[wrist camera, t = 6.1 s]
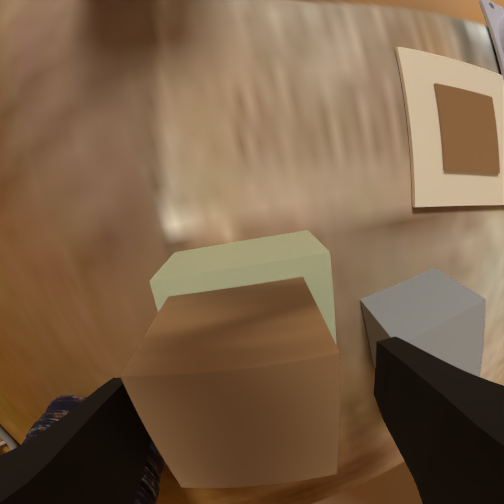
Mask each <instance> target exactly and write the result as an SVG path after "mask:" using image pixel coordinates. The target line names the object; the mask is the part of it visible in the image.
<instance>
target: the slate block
mask: <svg viewBox="0 0 504 504" xmlns="http://www.w3.org/2000/svg"><path fill="white" fill-rule="evenodd" d="M360 302H361V306H362V311H363V315H364V320H365V325H366V329H367V334H368V339H369V344H370V350H371V355H372V360H373V366H374V368H376V342H377V341H380V340H384V339H388V338H391V337H395V336H396V337H398V338H400V339H402V340H404V341H406V342H408V343H410V344H412V345H414V346H416V347H418V348H420V349H422V350H424V351H425V352H427V353H429V354H431V355H433V356H435V357H437V358H439V359H441V360H443V361H445V362H447V363H449V364H451V365H453V366H455V367H457V368H459V369H462V370H464V371H466V372H468V373H471V374H473V375H476V376H480V371H481V362H482V353H483V342H484V327H485V298H483V297H482V296H480V295H478V294H477V293H475V292H474V291H472V290H470V289H469V288H467V287H466V286H464V285H462V284H461V283H459V282H457V281H456V280H454V279H452V278H451V277H449V276H447V275H446V274H444V273H442V272H441V271H439V270H437V269H436V268H432V269H430V270H428V271H425V272H423V273H421V274H419V275H417V276H414V277H412V278H410V279H408V280H405V281H403V282H401V283H398V284H396V285H394V286H391V287H389V288H387V289H384V290H382V291H379V292H377V293H375V294H372V295H370V296H367V297H365V298H362V299H360Z"/></svg>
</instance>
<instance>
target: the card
mask: <svg viewBox="0 0 504 504" xmlns="http://www.w3.org/2000/svg"><path fill="white" fill-rule="evenodd" d="M395 52H396V57H397V62H398V67H399V72H400V78H401V84H402V90H403V96H404V103H405V110H406V118H407V127H408V137H409V148H410V162H411V182H412V207H437V206H472V205H504V80H503V76H502V75H500V74H497V73H495V72H492V71H489V70H486V69H484V68H481V67H478V66H475V65H471V64H468V63H465V62H462V61H458V60H455V59H451V58H447V57H444V56H440V55H436V54H431V53H427V52H423V51H418V50H413V49H408V48H403V47H396V48H395Z"/></svg>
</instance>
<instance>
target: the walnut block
mask: <svg viewBox="0 0 504 504" xmlns="http://www.w3.org/2000/svg"><path fill="white" fill-rule="evenodd" d="M120 377H121V379H122V382H123V384H124V386H125V388H126V390H127V392H128V394H129V397H130V399H131V401H132V403H133V405H134V407H135V409H136V411H137V413H138V415H139V417H140V418H141V420H142V422H143V424H144V426H145V428H146V430H147V431H148V433H149V435H150V437H151V439H152V440H153V442H154V444H155V446H156V447H157V449H158V451H159V452H160V454H161V456H162V457H163V459H164V461H165V462H166V464H167V466H168V467H169V469H170V470H171V472H172V473H173V475H174V476H175V478H176V480H177V481H178V483H179V484H180V486H181V487H182V488H235V487H252V486H264V485H273V484H282V483H289V482H296V481H303V480H309V479H314V478H320V477H325V476H330V475H334V474H337V468H338V452H339V429H340V352H339V350H338V347H337V345H336V343H335V341H334V339H333V337H332V335H331V333H330V331H329V329H328V327H327V325H326V322H325V320H324V318H323V316H322V314H321V312H320V310H319V308H318V306H317V304H316V302H315V300H314V298H313V296H312V294H311V292H310V290H309V288H308V286H307V284H306V282H305V280H304V278H303V277H297V278H291V279H285V280H279V281H272V282H266V283H260V284H253V285H246V286H240V287H233V288H226V289H219V290H212V291H205V292H198V293H190V294H183V295H175V296H168V298H167V300H166V301H165V303H164V304H163V306H162V308H161V309H160V311H159V312H158V314H157V316H156V317H155V319H154V321H153V322H152V324H151V325H150V327H149V329H148V330H147V332H146V334H145V335H144V337H143V339H142V340H141V342H140V344H139V345H138V347H137V349H136V350H135V352H134V354H133V355H132V357H131V359H130V361H129V362H128V364H127V366H126V367H125V369H124V371H123V373H122V374H121V376H120Z"/></svg>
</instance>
